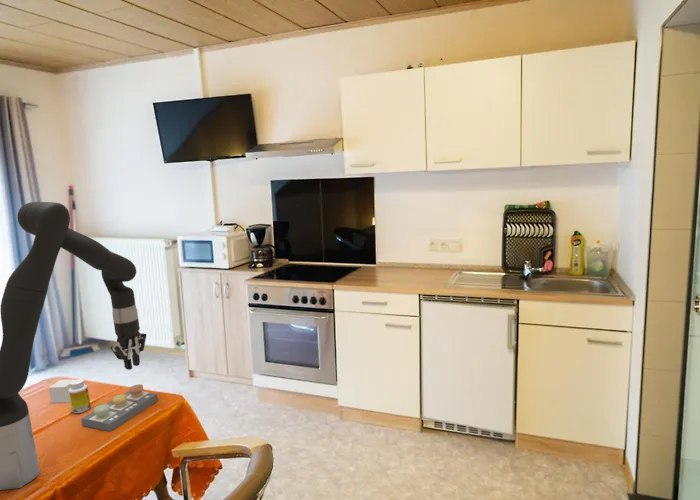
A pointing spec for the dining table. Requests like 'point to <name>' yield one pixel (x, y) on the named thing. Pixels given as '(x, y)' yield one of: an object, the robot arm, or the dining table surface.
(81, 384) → the supplement bottle
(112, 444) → the dining table surface
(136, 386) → the terracotta button
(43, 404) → the dining table surface
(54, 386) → the off-white cube
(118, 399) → the ochre button
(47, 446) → the dining table surface
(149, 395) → the button panel
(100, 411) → the sage button
